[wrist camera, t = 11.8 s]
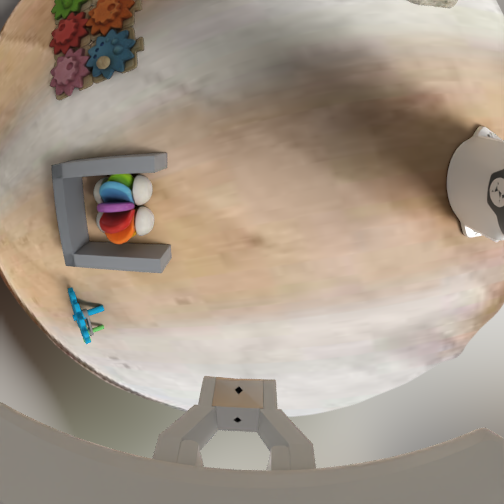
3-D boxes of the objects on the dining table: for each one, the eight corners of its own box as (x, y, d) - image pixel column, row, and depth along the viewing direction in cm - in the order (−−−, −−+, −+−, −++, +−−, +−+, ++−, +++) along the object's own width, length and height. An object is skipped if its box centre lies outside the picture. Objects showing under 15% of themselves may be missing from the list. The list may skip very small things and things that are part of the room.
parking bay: (167, 152, 35) (154, 155, 31) (171, 257, 41) (161, 273, 37) (71, 160, 35) (51, 165, 31) (81, 252, 41) (65, 265, 37)
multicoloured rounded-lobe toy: (107, 233, 40) (83, 252, 33) (102, 170, 36) (74, 178, 30) (158, 235, 40) (139, 255, 33) (155, 167, 36) (133, 175, 30)
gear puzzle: (62, -33, 20) (51, -40, 17) (142, -70, 19) (134, -81, 15) (57, 104, 32) (42, 103, 28) (148, 68, 31) (136, 62, 27)
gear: (61, 278, 41) (74, 315, 36) (91, 269, 45) (108, 304, 40) (73, 323, 47) (89, 360, 41) (99, 314, 51) (118, 349, 45)
